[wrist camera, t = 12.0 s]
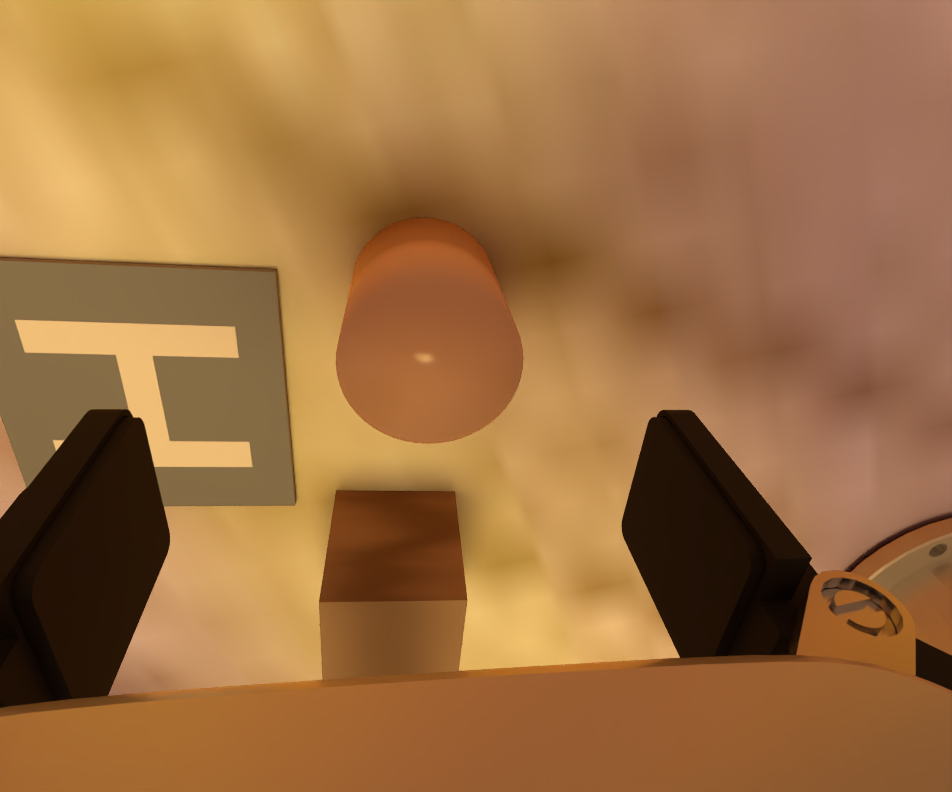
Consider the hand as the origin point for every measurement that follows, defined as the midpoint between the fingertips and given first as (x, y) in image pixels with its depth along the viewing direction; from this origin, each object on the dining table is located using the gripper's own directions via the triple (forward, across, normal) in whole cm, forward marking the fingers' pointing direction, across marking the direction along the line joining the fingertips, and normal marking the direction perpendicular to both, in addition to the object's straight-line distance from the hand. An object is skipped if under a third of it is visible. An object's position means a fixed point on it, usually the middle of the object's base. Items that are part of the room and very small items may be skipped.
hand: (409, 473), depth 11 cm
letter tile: (+11, +9, +5) cm, 15 cm away
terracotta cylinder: (+11, -1, 0) cm, 11 cm away
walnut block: (+11, 0, +12) cm, 16 cm away
